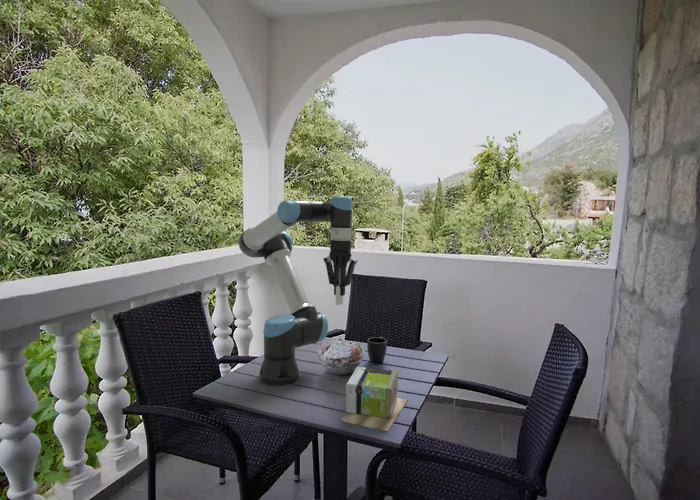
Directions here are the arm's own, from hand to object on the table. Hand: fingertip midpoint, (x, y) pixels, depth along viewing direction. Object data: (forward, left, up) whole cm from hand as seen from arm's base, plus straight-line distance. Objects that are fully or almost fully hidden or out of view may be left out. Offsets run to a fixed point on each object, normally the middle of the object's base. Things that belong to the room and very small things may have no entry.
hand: (339, 303), depth 152 cm
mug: (+5, +30, -31) cm, 43 cm away
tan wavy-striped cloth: (+20, -13, -30) cm, 39 cm away
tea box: (+10, -13, -25) cm, 30 cm away
